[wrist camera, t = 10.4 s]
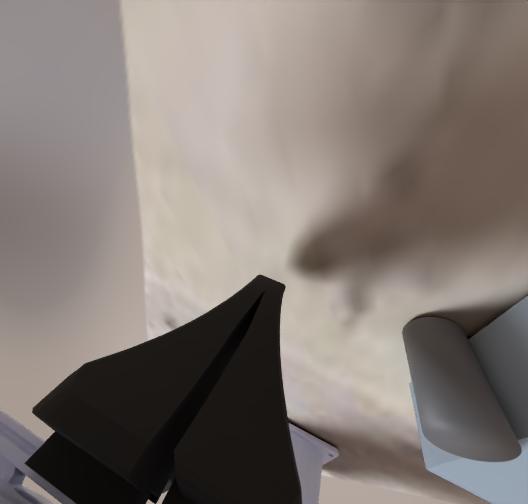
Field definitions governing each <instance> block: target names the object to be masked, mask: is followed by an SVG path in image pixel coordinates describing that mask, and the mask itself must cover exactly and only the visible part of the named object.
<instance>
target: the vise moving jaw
mask: <svg viewBox="0 0 528 504" xmlns="http://www.w3.org/2000/svg"><path fill="white" fill-rule="evenodd" d="M402 334H403V340H404V344H405V349H406V354H407V359H408V364H409V369H410V374H411V379H412V382H410V383H409V384H410V390H411V395H412V400H413V405H414V410H415V416H416V421H417V426H418V431H419V436H420V442H421V447H422V452H423V457H424V462H425V467H426V470H428V471H430V472H432V473H434V474H436V475H438V476H440V477H442V478H444V479H446V480H448V481H450V482H452V483H453V484H455V485H457V486H459V487H461V488H463V489H465V490H467V491H469V492H471V493H473V494H475V495H477V496H479V497H481V498H483V499H484V500H486V501H488V502H490V503H492V504H528V296H526V297H525V298H524V299H522V300H521V301H520V302H518V303H517V304H516V305H514V306H513V307H512V308H510V309H509V310H507V311H506V312H505V313H503V314H502V315H501V316H499V317H498V318H497V319H495V320H494V321H493V322H491V323H490V324H489V325H487V326H486V327H485V328H483V329H482V330H480V331H479V332H478V333H476V334H475V335H474V336H472V337H471V338H470V339H467V337H466V335H465V333H464V331H463V330H462V328H461V327H460V326H459V325H457V324H456V323H454V322H452V321H450V320H447V319H444V318H439V317H423V318H418V319H415V320H412V321H410V322H409V323H407V324H406V325H405V327H404V328H403V331H402Z"/></svg>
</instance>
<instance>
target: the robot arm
mask: <svg viewBox="0 0 528 504" xmlns="http://www.w3.org/2000/svg"><path fill="white" fill-rule="evenodd" d="M285 288H286V287H285V285H284V284H282V283H280V282H277V281H275V280H272V279H270V278H268V277H265V276H263V275H258V276H257V277H256V278H254V279H253V280H252V281H251V282H250V283H249V284H247V285H246V286H245V287H244V288H242V289H241V290H240V291H238V292H237V293H236V294H234V295H233V296H232V297H230V298H229V299H227V300H226V301H224V302H223V303H221V304H220V305H218V306H217V307H215V308H213V309H212V310H210V311H209V312H207V313H205V314H204V315H202V316H200V317H198V318H196V319H194V320H193V321H191V322H189V323H187V324H185V325H183V326H181V327H179V328H177V329H175V330H173V331H170V332H168V333H166V334H164V335H161V336H159V337H157V338H154V339H152V340H149V341H147V342H144V343H142V344H139V345H137V346H134V347H132V348H129V349H127V350H124V351H121V352H118V353H115V354H112V355H109V356H106V357H103V358H100V359H97V360H94V361H91V362H88V363H85V364H84V365H83V366H81V367H80V368H79V369H78V370H77V371H75V372H73V373H72V374H71V375H70V376H68V377H67V378H66V379H65V380H64V381H63V382H62V383H60V384H59V385H58V386H57V387H56V388H55V389H54V390H53V391H51V392H50V393H49V394H48V395H47V396H46V397H45V398H44V399H42V400H41V401H40V402H39V403H38V404H37V405H36V406H35V407H34V408H33V411H32V413H33V414H34V415H36V416H37V417H38V418H39V419H41V420H42V421H43V422H44V423H46V424H47V425H48V426H49V427H51V428H52V429H53V430H55V432H54V433H53V434H52V435H51V436H50V438H48V439H47V440H46V441H44V440H43V439H41V438H40V437H38V436H37V435H36V434H34V433H33V432H32V431H30V430H29V429H27V428H26V427H25V426H23V425H22V424H20V423H19V422H18V421H16V420H15V419H14V418H12V417H11V416H9V415H8V414H7V413H5V412H4V411H3V410H1V409H0V504H53V503H52V502H51V501H49V500H48V499H47V498H45V497H44V496H42V495H40V494H38V493H36V492H34V491H32V490H30V489H28V488H25V487H23V486H22V482H23V480H24V478H25V475H26V476H28V477H29V478H30V479H31V480H33V481H34V482H35V483H36V484H38V485H39V486H40V487H42V488H43V489H44V490H45V491H47V492H48V493H49V494H50V495H52V496H53V497H54V498H56V499H57V500H58V501H59V502H61V503H62V504H146V502H147V500H148V499H149V500H150V501H152V502H153V503H155V504H156V503H157V501H158V500H159V497H160V496H161V494H162V493H164V492H166V491H168V492H167V494H166V496H165V498H164V500H163V502H162V504H318V501H319V491H320V482H321V472H322V466H323V465H325V464H326V463H328V462H330V461H331V460H333V459H335V458H336V457H338V456H339V451H338V450H337V449H336V448H335V447H333V446H331V445H329V444H327V443H325V442H324V441H322V440H320V439H318V438H316V437H314V436H312V435H311V434H309V433H307V432H305V431H303V430H301V429H299V428H298V427H296V426H294V425H292V424H290V423H288V417H287V410H286V403H285V396H284V389H283V381H282V371H281V358H280V313H281V304H282V298H283V293H284V290H285Z"/></svg>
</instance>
